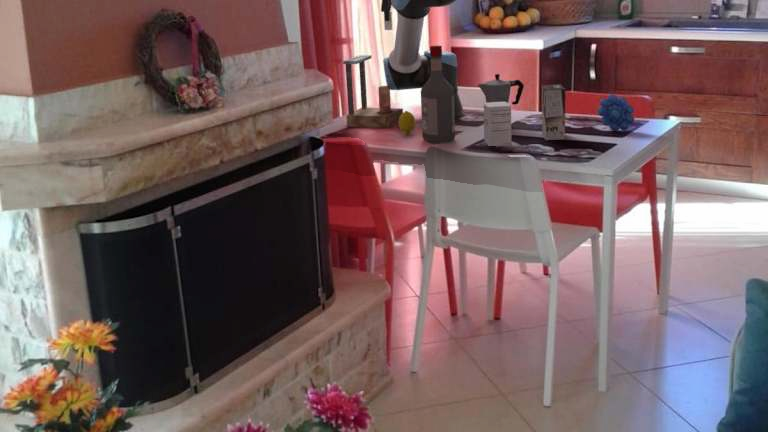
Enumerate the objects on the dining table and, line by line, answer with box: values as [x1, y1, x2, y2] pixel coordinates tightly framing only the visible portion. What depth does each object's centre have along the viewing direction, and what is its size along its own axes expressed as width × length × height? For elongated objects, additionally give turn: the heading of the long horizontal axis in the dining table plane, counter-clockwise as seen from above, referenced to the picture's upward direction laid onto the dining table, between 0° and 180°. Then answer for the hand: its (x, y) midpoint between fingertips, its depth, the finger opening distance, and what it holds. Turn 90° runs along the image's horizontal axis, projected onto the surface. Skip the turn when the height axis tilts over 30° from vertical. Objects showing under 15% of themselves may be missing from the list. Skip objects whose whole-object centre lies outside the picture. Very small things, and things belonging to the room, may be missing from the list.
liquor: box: [420, 45, 456, 144], centre depth 283 cm, size 9×9×30 cm
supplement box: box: [483, 102, 512, 147], centre depth 277 cm, size 7×7×13 cm
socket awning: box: [342, 54, 404, 129], centre depth 315 cm, size 16×14×23 cm
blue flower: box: [596, 93, 635, 132], centre depth 284 cm, size 12×7×12 cm, turn 72°
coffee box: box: [541, 83, 566, 141], centre depth 281 cm, size 9×6×16 cm
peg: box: [377, 85, 392, 114], centre depth 315 cm, size 4×4×13 cm
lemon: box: [398, 110, 416, 135], centre depth 296 cm, size 6×6×8 cm
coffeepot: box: [477, 73, 525, 127], centre depth 299 cm, size 15×9×18 cm, turn 92°
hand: (395, 27), depth 330 cm, fingers open, 13 cm apart
